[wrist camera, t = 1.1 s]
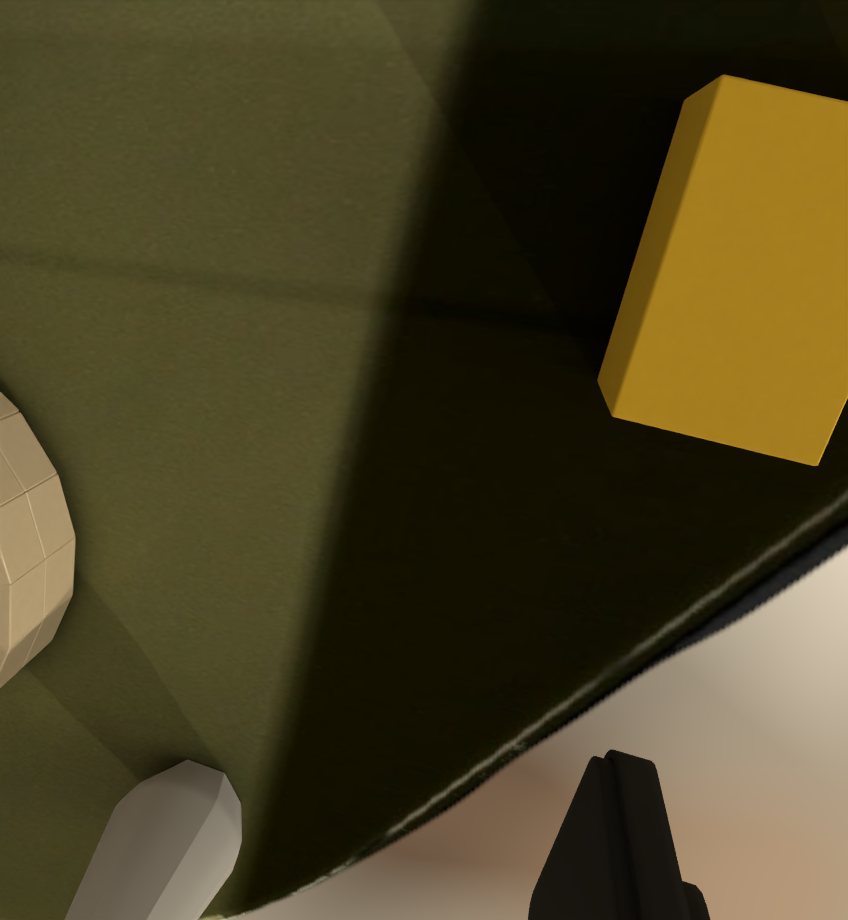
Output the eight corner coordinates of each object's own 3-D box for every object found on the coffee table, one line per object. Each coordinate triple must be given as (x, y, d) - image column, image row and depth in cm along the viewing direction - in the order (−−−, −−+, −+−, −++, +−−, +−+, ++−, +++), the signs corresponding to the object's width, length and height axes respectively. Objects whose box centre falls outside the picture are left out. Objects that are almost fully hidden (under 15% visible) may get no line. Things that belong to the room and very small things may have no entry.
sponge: (684, 98, 22) (721, 73, 18) (882, 142, 22) (969, 127, 17) (596, 381, 25) (610, 416, 21) (768, 422, 25) (818, 467, 21)
